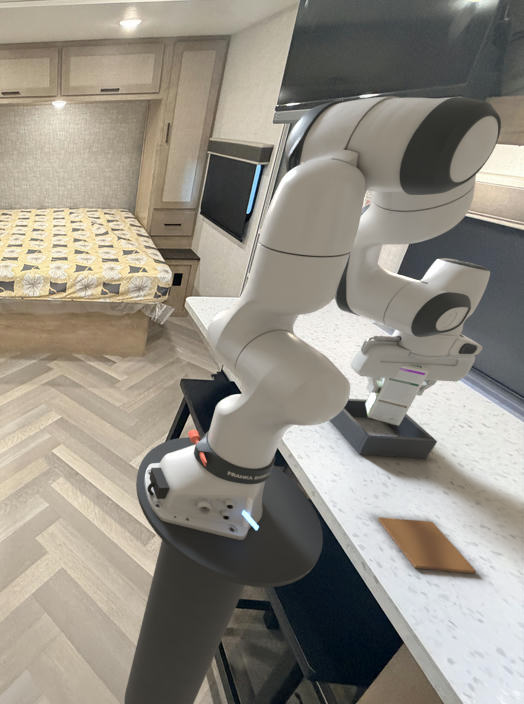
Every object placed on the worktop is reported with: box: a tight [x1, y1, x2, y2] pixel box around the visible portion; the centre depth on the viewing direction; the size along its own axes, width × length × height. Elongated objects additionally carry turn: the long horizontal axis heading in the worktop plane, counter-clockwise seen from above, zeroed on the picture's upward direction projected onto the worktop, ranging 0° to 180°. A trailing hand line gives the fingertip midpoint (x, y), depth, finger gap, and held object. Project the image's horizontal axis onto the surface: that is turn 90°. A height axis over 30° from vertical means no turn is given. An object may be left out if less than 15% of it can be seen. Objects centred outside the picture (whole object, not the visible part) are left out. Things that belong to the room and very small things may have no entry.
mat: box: [377, 517, 477, 574], centre depth 69 cm, size 9×9×1 cm
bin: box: [329, 398, 438, 459], centre depth 91 cm, size 14×14×5 cm
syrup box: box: [365, 365, 429, 426], centre depth 86 cm, size 6×6×14 cm
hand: (393, 392), depth 87 cm, fingers closed on syrup box, 7 cm apart
